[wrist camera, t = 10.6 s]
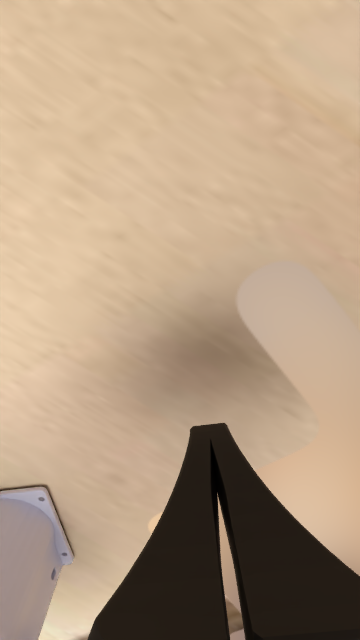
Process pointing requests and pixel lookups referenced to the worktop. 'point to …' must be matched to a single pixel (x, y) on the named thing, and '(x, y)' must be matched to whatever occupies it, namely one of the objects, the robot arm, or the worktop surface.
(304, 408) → the worktop surface
